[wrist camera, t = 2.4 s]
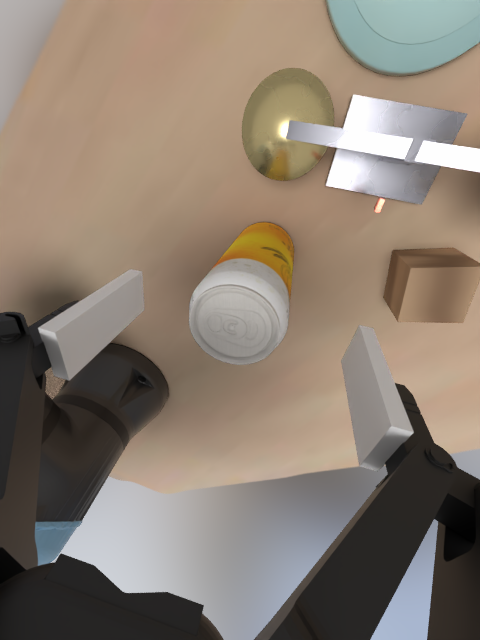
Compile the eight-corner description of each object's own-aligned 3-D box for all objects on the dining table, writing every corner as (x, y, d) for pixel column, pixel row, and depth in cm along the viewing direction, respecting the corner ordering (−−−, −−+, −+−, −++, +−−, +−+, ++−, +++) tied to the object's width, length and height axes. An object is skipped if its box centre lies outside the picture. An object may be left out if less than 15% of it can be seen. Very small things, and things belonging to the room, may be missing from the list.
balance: (247, 177, 24) (223, 185, 17) (261, 82, 20) (239, 38, 13) (497, 226, 22) (595, 260, 15) (562, 132, 19) (734, 115, 11)
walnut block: (383, 297, 27) (397, 321, 23) (392, 249, 25) (410, 268, 21) (437, 296, 26) (462, 322, 22) (453, 247, 24) (485, 266, 20)
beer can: (287, 282, 29) (275, 379, 16) (233, 272, 29) (182, 357, 17) (300, 226, 25) (299, 291, 13) (239, 216, 26) (181, 269, 13)
